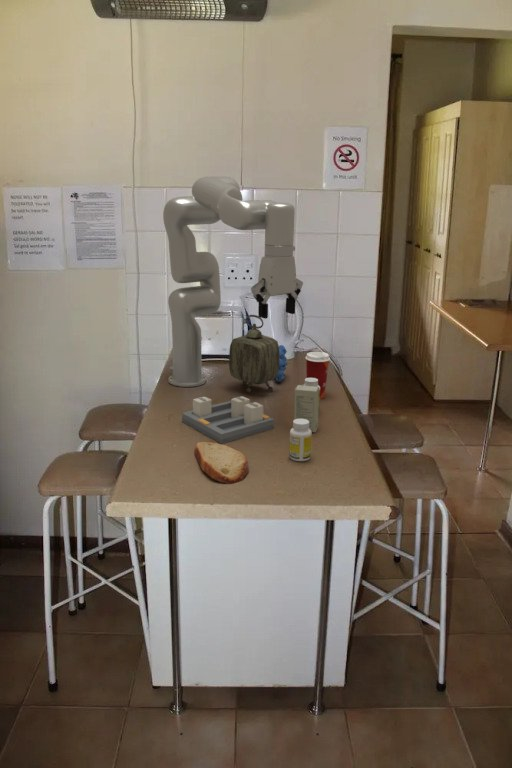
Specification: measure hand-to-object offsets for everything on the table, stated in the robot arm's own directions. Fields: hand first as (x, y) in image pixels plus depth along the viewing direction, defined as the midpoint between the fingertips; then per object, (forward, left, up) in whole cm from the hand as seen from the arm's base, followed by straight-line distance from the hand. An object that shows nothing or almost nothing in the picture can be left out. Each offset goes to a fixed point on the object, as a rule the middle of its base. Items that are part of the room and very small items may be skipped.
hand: (276, 315), depth 180 cm
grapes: (-29, +26, -31) cm, 50 cm away
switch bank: (-6, -12, -31) cm, 34 cm away
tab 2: (0, -7, -30) cm, 31 cm away
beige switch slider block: (-12, -16, -30) cm, 36 cm away
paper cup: (-9, +25, -31) cm, 41 cm away
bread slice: (+13, -29, -32) cm, 45 cm away
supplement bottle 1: (+22, -10, -31) cm, 40 cm away
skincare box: (+9, +4, -31) cm, 33 cm away
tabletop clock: (-25, +12, -31) cm, 42 cm away
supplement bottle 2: (0, +14, -31) cm, 34 cm away
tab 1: (-6, -7, -30) cm, 31 cm away
